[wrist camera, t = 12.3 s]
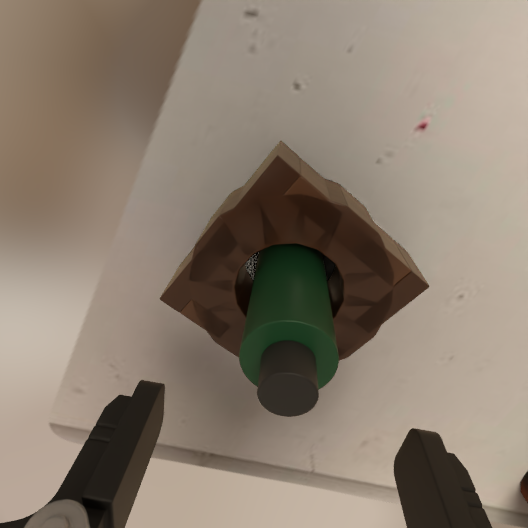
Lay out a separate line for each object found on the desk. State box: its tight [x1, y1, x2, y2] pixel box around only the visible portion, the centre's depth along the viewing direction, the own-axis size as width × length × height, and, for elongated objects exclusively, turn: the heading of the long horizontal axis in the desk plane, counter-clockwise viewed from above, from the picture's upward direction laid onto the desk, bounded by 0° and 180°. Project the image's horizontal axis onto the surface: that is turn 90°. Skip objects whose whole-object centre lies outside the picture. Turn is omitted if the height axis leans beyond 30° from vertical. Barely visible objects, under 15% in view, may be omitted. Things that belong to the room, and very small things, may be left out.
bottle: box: [239, 243, 339, 417], centre depth 18 cm, size 4×4×11 cm
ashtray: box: [160, 141, 429, 360], centre depth 21 cm, size 11×11×4 cm
